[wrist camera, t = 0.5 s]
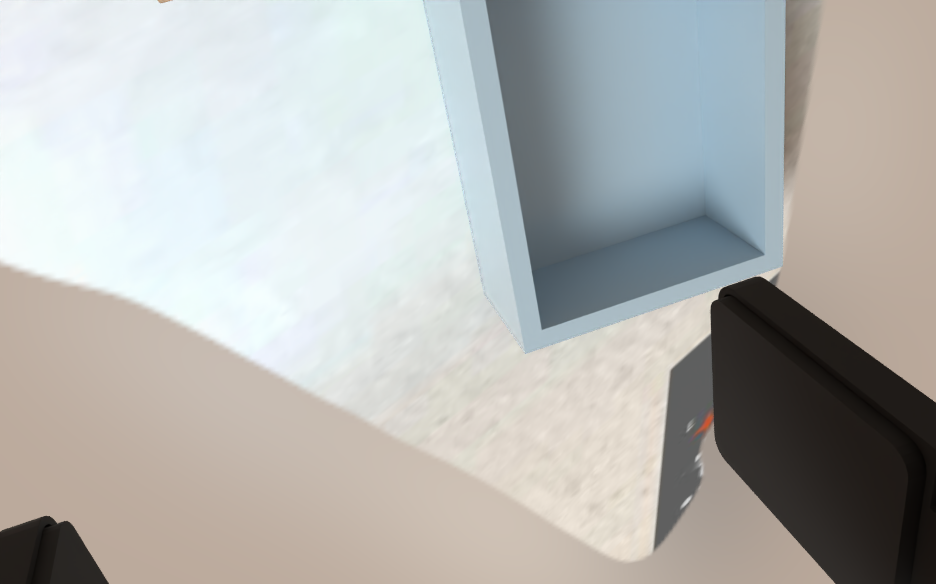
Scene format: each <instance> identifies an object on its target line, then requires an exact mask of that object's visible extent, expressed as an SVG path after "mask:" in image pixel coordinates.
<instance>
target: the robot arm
mask: <svg viewBox="0 0 936 584" xmlns="http://www.w3.org/2000/svg"><path fill="white" fill-rule="evenodd" d="M711 341H712V372H713V403H714V431H715V432H714V433H715V441H716V444H717V447H718V449H719V452H720V453H721V455H722V457H723V458H724V459H725V461H726V462H727V463H728V464H729V465H730V466H731V467H732V468H733V470H735V472H736V473H737V474H738V475H739V476H740V477H741V478H742V480H743V481H744V482H745V483H746V484H747V485H748V486H749V487H750V489H751V490H752V491H753V492H754V493H755V494H756V495H757V496H758V498H759V499H760V500H761V501H762V502H763V503H764V504H765V505H766V506H767V508H768V509H769V510H770V511H771V512H772V513H773V514H774V515H775V516H776V518H777V519H778V520H779V521H780V522H781V523H782V524H783V525H784V527H785V528H786V529H787V530H788V531H789V532H790V533H791V534H792V536H793V537H794V538H795V539H796V540H797V541H798V542H799V543H800V544H801V546H802V547H803V548H804V549H805V550H806V551H807V552H808V553H809V554H810V555H811V557H812V558H813V559H814V560H815V561H816V562H817V563H818V565H819V566H820V567H821V568H822V569H823V570H824V571H825V572H826V574H827V575H828V576H829V577H830V578H831V579H832V580H833V581H834V582H835V584H936V402H934V401H933V400H931V399H930V398H929V397H927V396H926V395H924V394H923V393H922V392H920V391H919V390H918V389H916V388H915V387H914V386H912V385H911V384H909V383H908V382H907V381H905V380H904V379H902V378H901V377H900V376H898V375H897V374H895V373H894V372H893V371H891V370H890V369H889V368H887V367H886V366H884V365H883V364H882V363H880V362H879V361H878V360H876V359H875V358H873V357H872V356H871V355H869V354H868V353H867V352H865V351H864V350H862V349H861V348H860V347H858V346H857V345H855V344H854V343H853V342H851V341H850V340H848V339H847V338H846V337H844V336H843V335H842V334H840V333H839V332H838V331H836V330H835V329H833V328H832V327H831V326H829V325H828V324H827V323H825V322H824V321H822V320H821V319H819V318H818V317H817V316H815V315H814V314H813V313H811V312H810V311H809V310H807V309H806V308H804V307H803V306H801V305H800V304H799V303H798V302H796V301H795V300H793V299H792V298H791V297H789V296H788V295H786V294H785V293H784V292H782V291H781V290H779V289H778V288H777V287H775V286H774V285H773V284H771V283H770V282H769V281H767V280H766V279H764V278H762V277H753V278H750V279H747V280H744V281H741V282H738V283H735V284H732V285H729V286H726V287H724V288H722V289H721V290H720V293H719V296H718V300H715V301H714V302H712V304H711ZM0 584H109V583H108V582H107V580H106V579H105V577H104V575H103V574H102V572H101V570H100V569H99V567H98V565H97V564H96V562H95V561H94V559H93V557H92V556H91V554H90V553H89V551H88V549H87V548H86V546H85V545H84V543H83V541H82V539H81V538H80V536H79V535H78V533H77V531H76V530H75V528H74V527H73V525H72V524H71V523H70V522H68V521H64V522H61V523H58V524H57V523H56V521H55V520H54V519H53V518H51V517H50V516H44V517H40V518H38V519H35V520H31V521H28V522H26V523H23V524H20V525H17V526H14V527H11V528H8V529H5V530H2V531H1V532H0Z"/></svg>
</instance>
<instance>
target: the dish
mask: <svg viewBox="0 0 936 584" xmlns="http://www.w3.org/2000/svg"><path fill="white" fill-rule="evenodd" d="M423 1H424V6H425V11H426V16H427V20H428V25H429V30H430V35H431V40H432V44H433V49H434V54H435V59H436V64H437V68H438V73H439V78H440V83H441V87H442V92H443V97H444V102H445V107H446V111H447V116H448V121H449V126H450V131H451V135H452V140H453V145H454V150H455V155H456V159H457V164H458V169H459V174H460V179H461V183H462V188H463V193H464V198H465V202H466V207H467V212H468V217H469V222H470V226H471V231H472V236H473V241H474V246H475V250H476V255H477V260H478V265H479V270H480V274H481V279H482V284H483V289H484V294H485V296H486V297H487V299H488V300H489V302H490V303H491V305H492V306H493V308H494V309H495V311H496V312H497V313H498V315H499V316H500V318H501V319H502V321H503V322H504V324H505V325H506V327H507V328H508V329H509V331H510V332H511V334H512V335H513V337H514V338H515V340H516V341H517V342H518V344H519V345H520V347H521V348H522V350H523V351H524V353H525V354H526V353H529V352H532V351H535V350H538V349H541V348H544V347H547V346H550V345H553V344H556V343H559V342H562V341H565V340H568V339H571V338H573V337H576V336H579V335H582V334H585V333H588V332H591V331H594V330H597V329H600V328H603V327H606V326H609V325H612V324H615V323H618V322H620V321H623V320H626V319H629V318H632V317H635V316H638V315H641V314H644V313H647V312H650V311H653V310H656V309H659V308H662V307H665V306H667V305H670V304H673V303H676V302H679V301H682V300H685V299H688V298H691V297H694V296H697V295H700V294H703V293H706V292H709V291H711V290H714V289H717V288H720V287H723V286H726V285H729V284H732V283H735V282H738V281H741V280H744V279H747V278H750V277H753V276H756V275H758V274H761V273H764V272H767V271H770V270H773V269H776V268H779V267H782V266H783V196H784V106H785V16H786V0H423Z"/></svg>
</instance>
